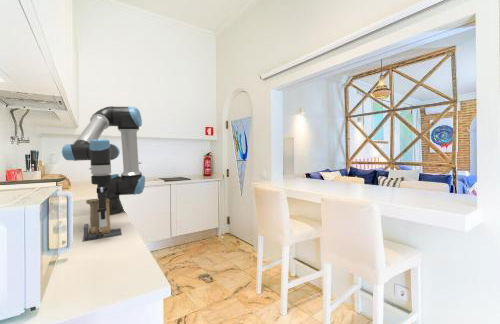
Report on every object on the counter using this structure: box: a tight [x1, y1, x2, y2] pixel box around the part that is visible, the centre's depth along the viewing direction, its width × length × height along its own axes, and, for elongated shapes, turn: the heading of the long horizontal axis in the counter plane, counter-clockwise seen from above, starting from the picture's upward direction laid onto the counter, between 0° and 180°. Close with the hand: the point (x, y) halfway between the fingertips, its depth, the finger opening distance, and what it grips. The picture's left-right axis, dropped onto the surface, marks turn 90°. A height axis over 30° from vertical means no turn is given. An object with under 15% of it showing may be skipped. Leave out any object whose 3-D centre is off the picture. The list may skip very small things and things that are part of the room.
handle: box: [85, 198, 100, 229], centre depth 118 cm, size 5×6×15 cm
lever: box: [100, 198, 111, 235], centre depth 109 cm, size 4×4×15 cm
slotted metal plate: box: [81, 223, 123, 242], centre depth 109 cm, size 11×14×6 cm
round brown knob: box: [88, 227, 100, 235], centre depth 107 cm, size 4×4×4 cm
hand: (103, 222), depth 109 cm, fingers open, 13 cm apart
